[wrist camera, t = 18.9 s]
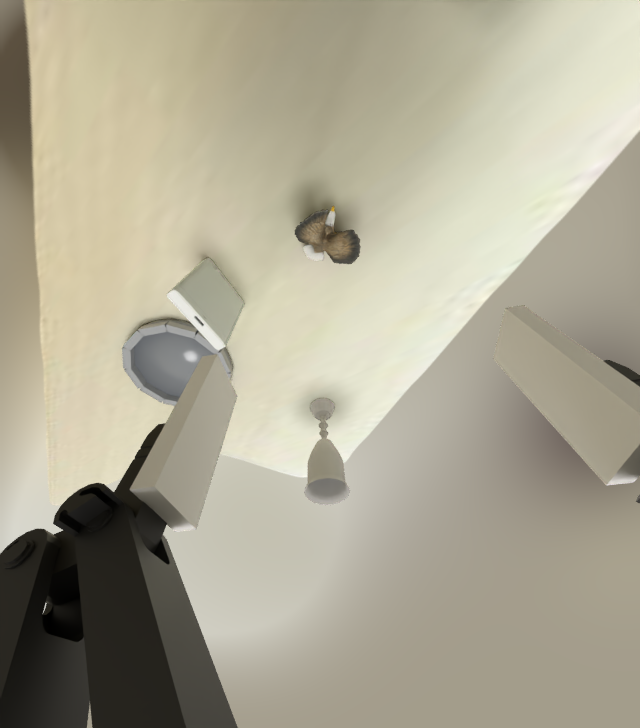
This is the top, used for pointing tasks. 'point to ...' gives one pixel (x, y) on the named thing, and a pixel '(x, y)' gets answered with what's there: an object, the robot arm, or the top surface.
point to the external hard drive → (208, 302)
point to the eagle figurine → (327, 239)
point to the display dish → (167, 357)
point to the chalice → (325, 462)
